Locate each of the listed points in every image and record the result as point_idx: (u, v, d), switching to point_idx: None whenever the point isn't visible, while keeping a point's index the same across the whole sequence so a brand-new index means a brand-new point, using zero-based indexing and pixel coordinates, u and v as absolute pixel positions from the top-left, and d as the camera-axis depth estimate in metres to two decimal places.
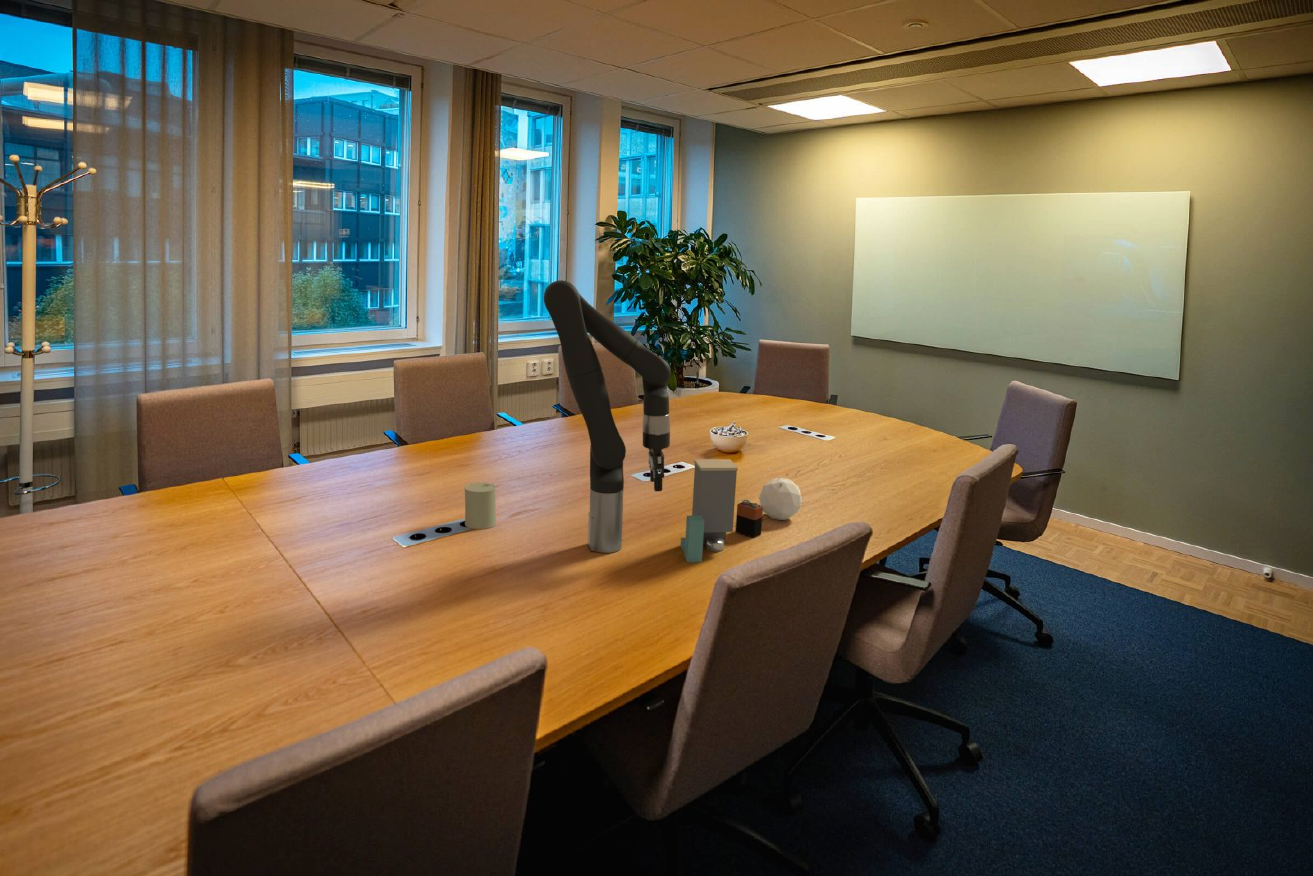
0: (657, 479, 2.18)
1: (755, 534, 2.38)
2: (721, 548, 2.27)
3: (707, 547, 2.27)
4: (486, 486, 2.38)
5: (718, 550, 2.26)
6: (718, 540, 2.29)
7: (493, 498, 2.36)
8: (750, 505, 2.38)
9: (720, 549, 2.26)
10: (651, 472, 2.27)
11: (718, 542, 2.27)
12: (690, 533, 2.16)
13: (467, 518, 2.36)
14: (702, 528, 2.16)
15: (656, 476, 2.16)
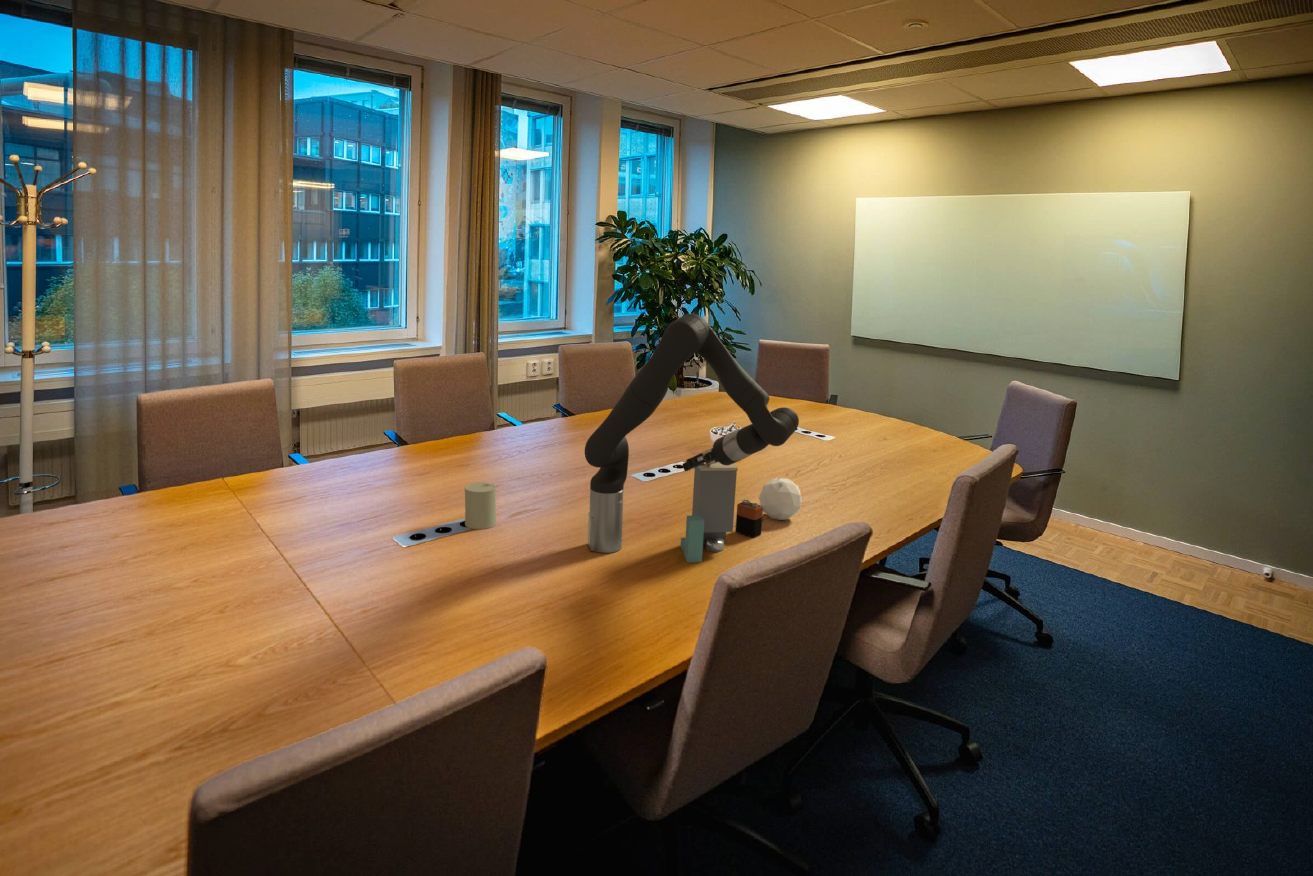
0: None
1: (755, 534, 2.38)
2: (721, 548, 2.27)
3: (707, 547, 2.27)
4: (486, 486, 2.38)
5: (718, 550, 2.26)
6: (718, 540, 2.29)
7: (493, 498, 2.36)
8: (750, 505, 2.38)
9: (720, 549, 2.26)
10: None
11: (718, 542, 2.27)
12: (690, 533, 2.16)
13: (467, 518, 2.36)
14: (702, 528, 2.16)
15: (687, 461, 2.11)
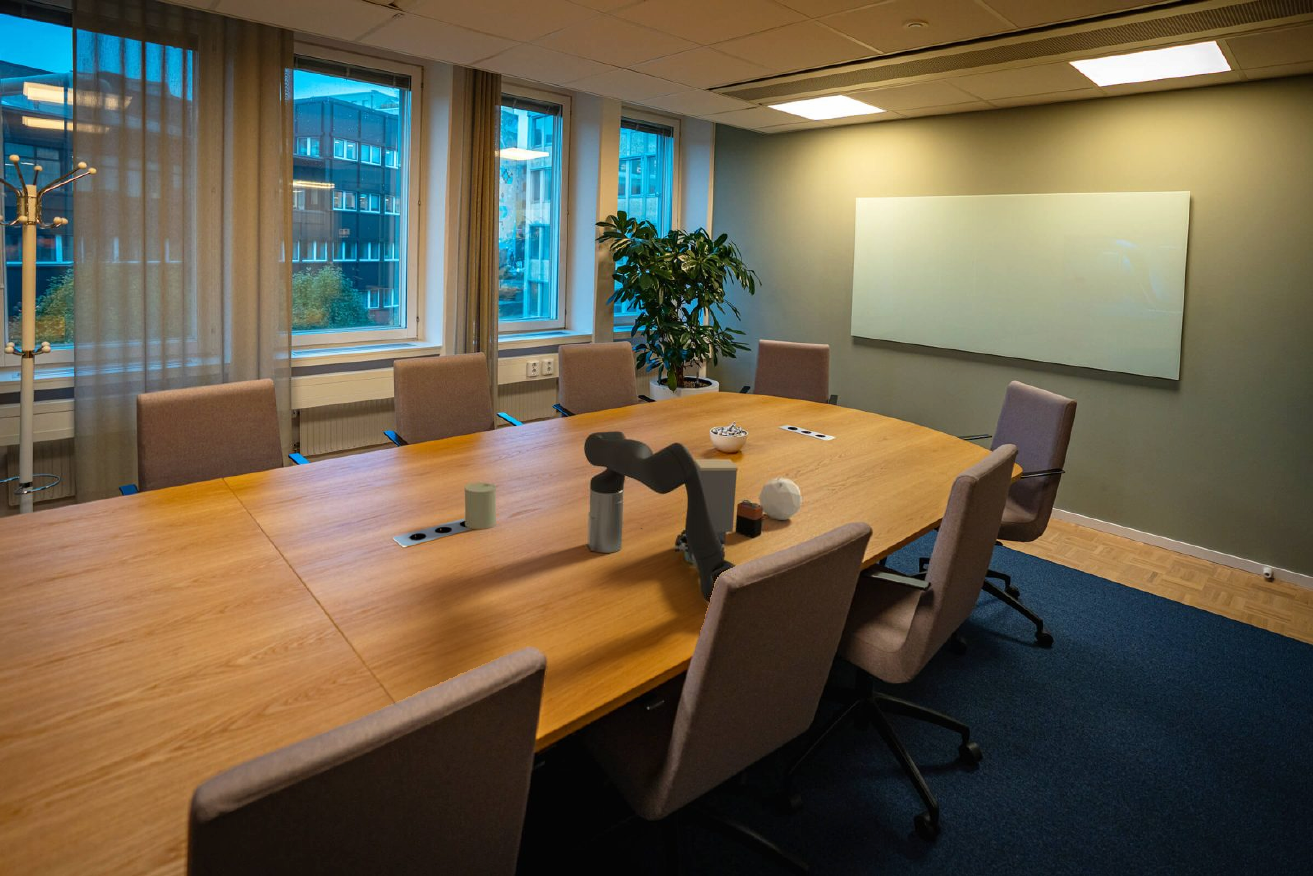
0: None
1: (755, 534, 2.38)
2: None
3: None
4: (486, 486, 2.38)
5: None
6: None
7: (493, 498, 2.36)
8: (750, 505, 2.38)
9: None
10: None
11: None
12: None
13: (467, 518, 2.36)
14: None
15: None
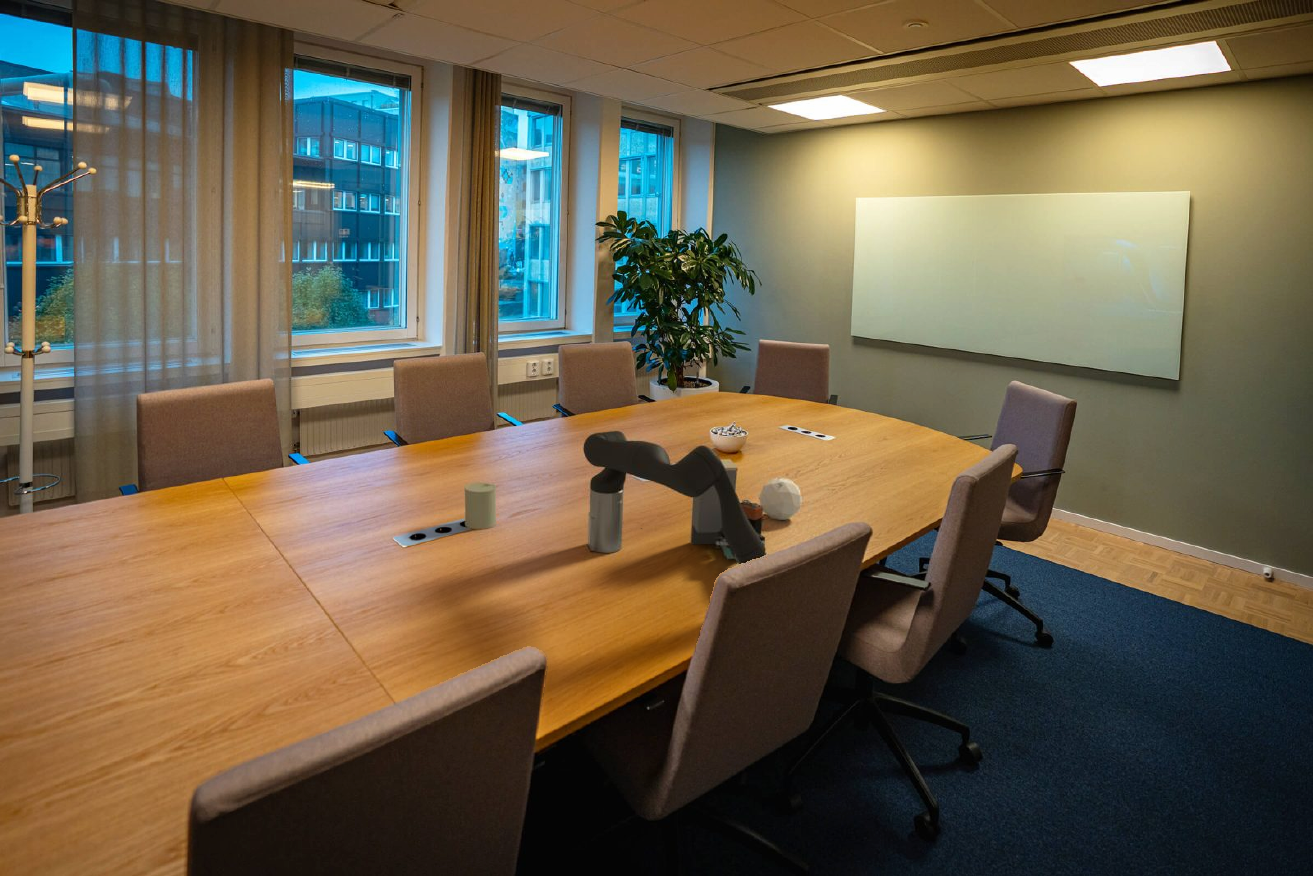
0: (722, 533, 2.18)
1: None
2: None
3: None
4: (486, 486, 2.38)
5: None
6: None
7: (493, 498, 2.36)
8: (750, 505, 2.38)
9: None
10: None
11: None
12: None
13: (467, 518, 2.36)
14: None
15: None
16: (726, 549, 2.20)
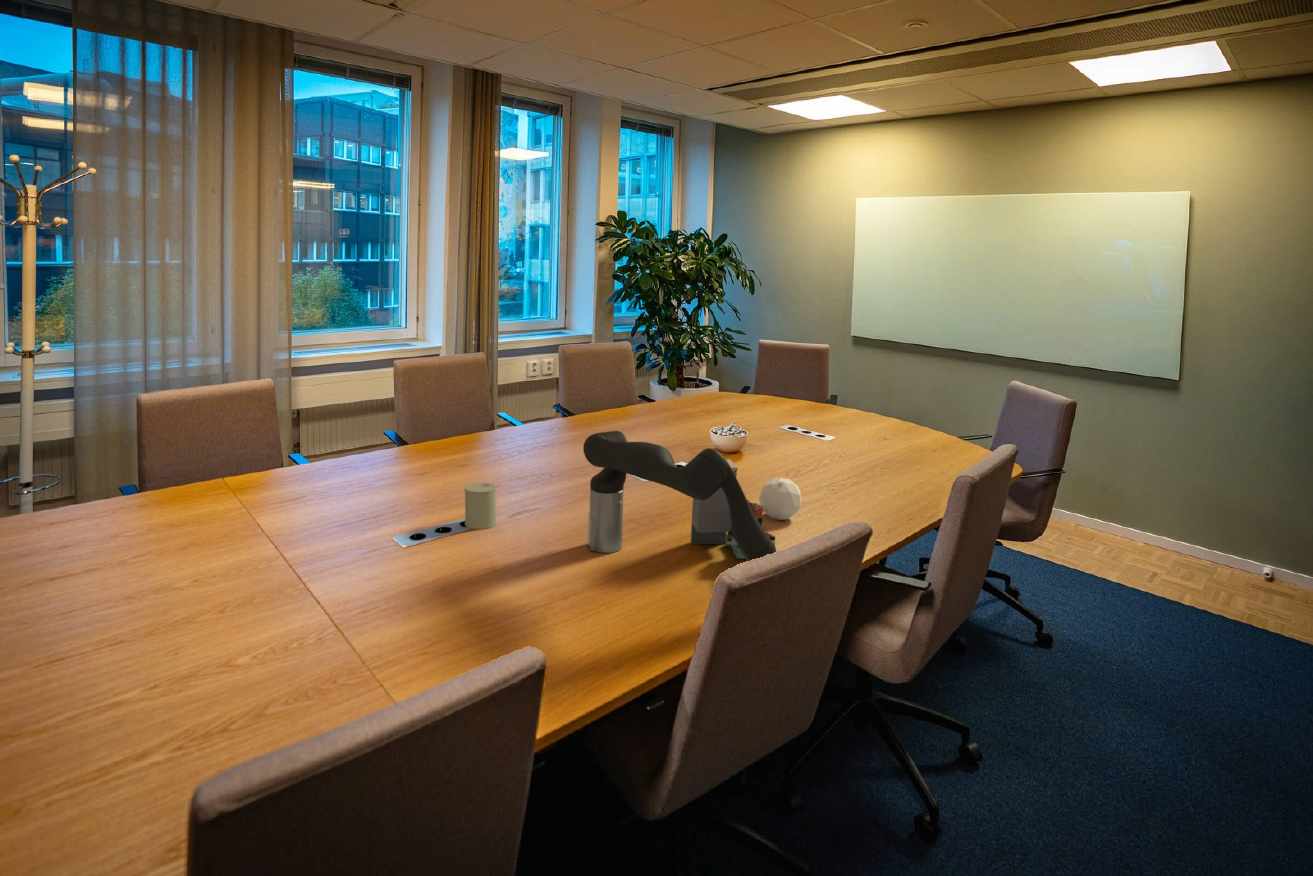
0: None
1: None
2: None
3: None
4: (486, 486, 2.38)
5: None
6: None
7: (493, 498, 2.36)
8: (750, 505, 2.38)
9: None
10: None
11: None
12: None
13: (467, 518, 2.36)
14: None
15: None
16: (736, 549, 2.21)
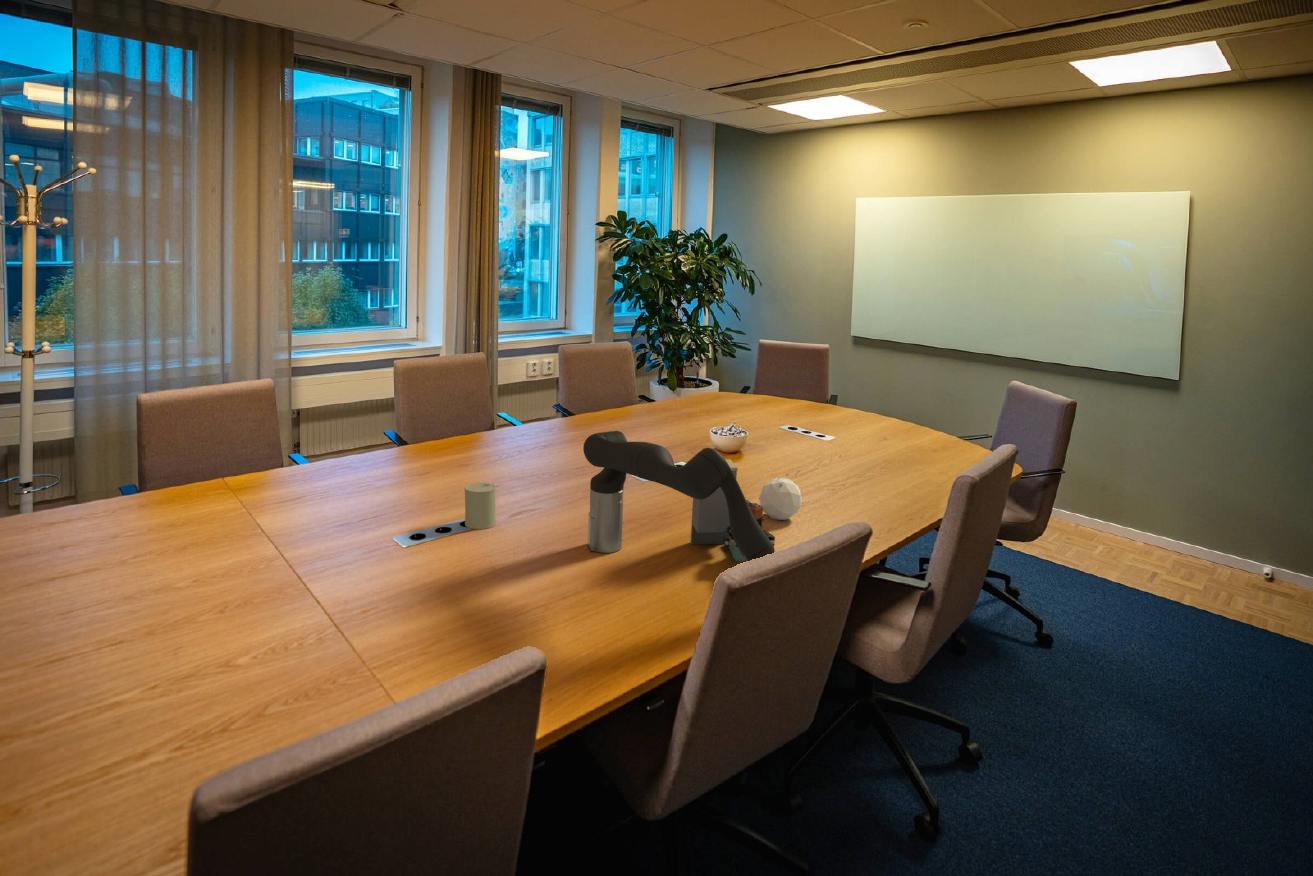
0: (728, 532, 2.19)
1: None
2: None
3: None
4: (486, 486, 2.38)
5: None
6: None
7: (493, 498, 2.36)
8: (750, 505, 2.38)
9: None
10: None
11: None
12: None
13: (467, 518, 2.36)
14: None
15: None
16: (734, 551, 2.21)
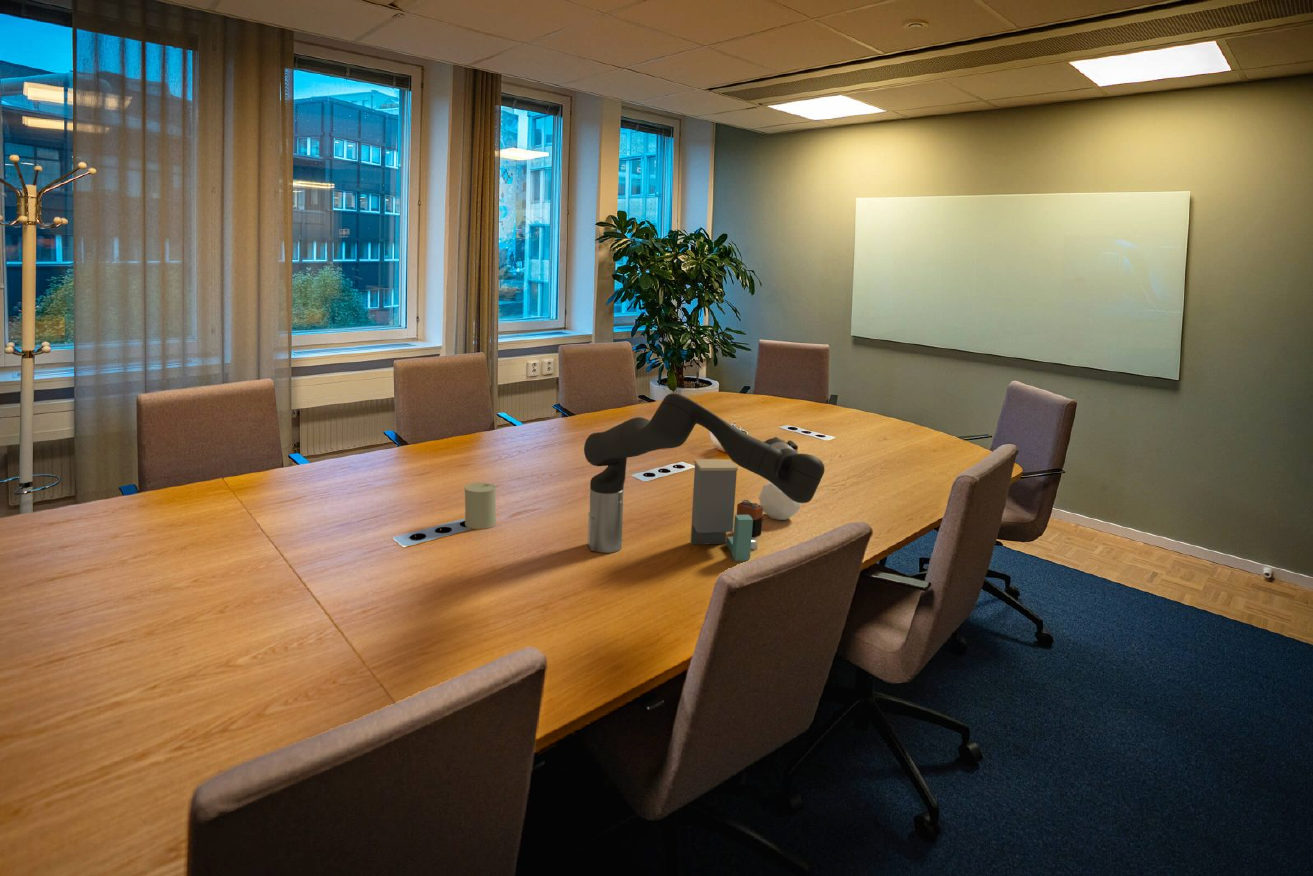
0: None
1: (755, 534, 2.38)
2: (755, 547, 2.28)
3: None
4: (486, 486, 2.38)
5: (752, 549, 2.28)
6: (752, 539, 2.30)
7: (493, 498, 2.36)
8: (750, 505, 2.38)
9: (754, 548, 2.28)
10: None
11: (752, 541, 2.29)
12: (739, 532, 2.18)
13: (467, 518, 2.36)
14: (751, 527, 2.18)
15: None
16: (734, 551, 2.21)
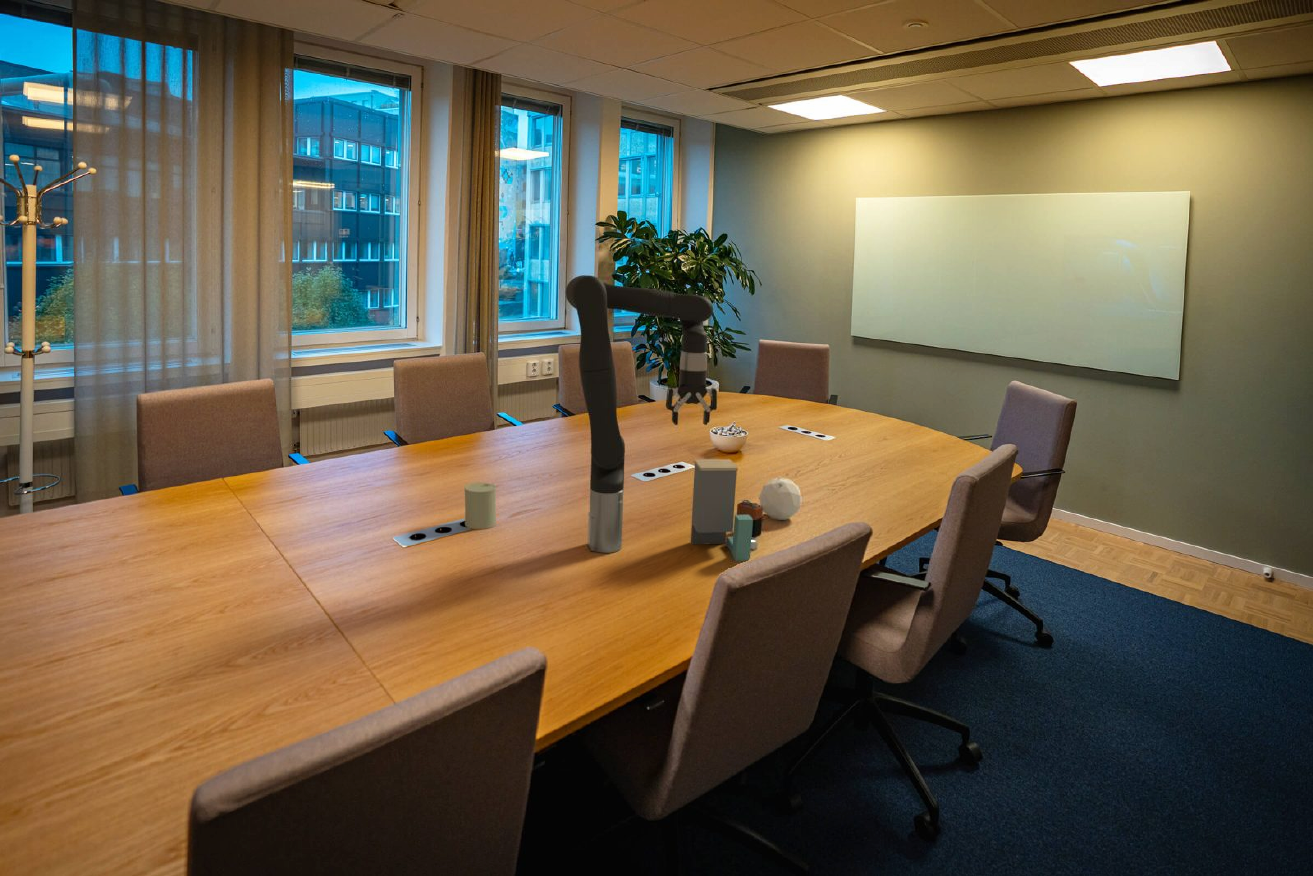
0: (672, 411, 2.26)
1: (755, 534, 2.38)
2: (755, 547, 2.28)
3: None
4: (486, 486, 2.38)
5: (752, 549, 2.28)
6: (752, 539, 2.30)
7: (493, 498, 2.36)
8: (750, 505, 2.38)
9: (754, 548, 2.28)
10: None
11: (752, 541, 2.29)
12: (739, 532, 2.18)
13: (467, 518, 2.36)
14: (751, 527, 2.18)
15: (666, 406, 2.26)
16: (734, 551, 2.21)
